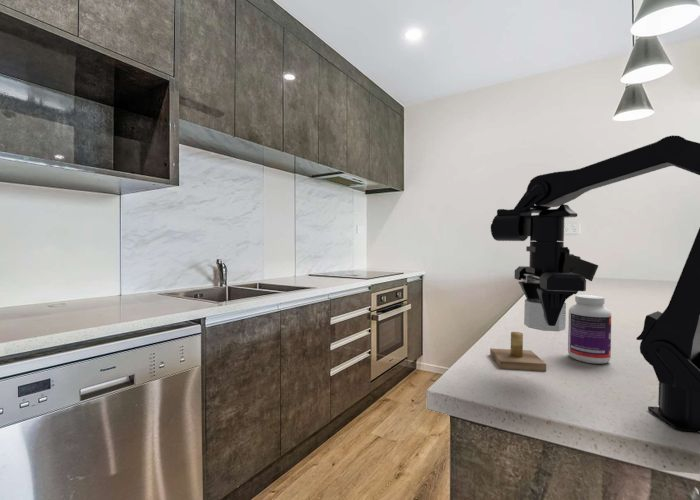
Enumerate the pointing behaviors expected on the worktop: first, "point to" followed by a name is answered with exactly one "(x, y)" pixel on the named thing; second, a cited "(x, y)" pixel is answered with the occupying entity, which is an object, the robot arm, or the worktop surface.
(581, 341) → the pill bottle
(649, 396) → the worktop surface
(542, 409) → the worktop surface
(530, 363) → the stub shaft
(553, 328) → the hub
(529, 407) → the worktop surface
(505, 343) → the worktop surface
